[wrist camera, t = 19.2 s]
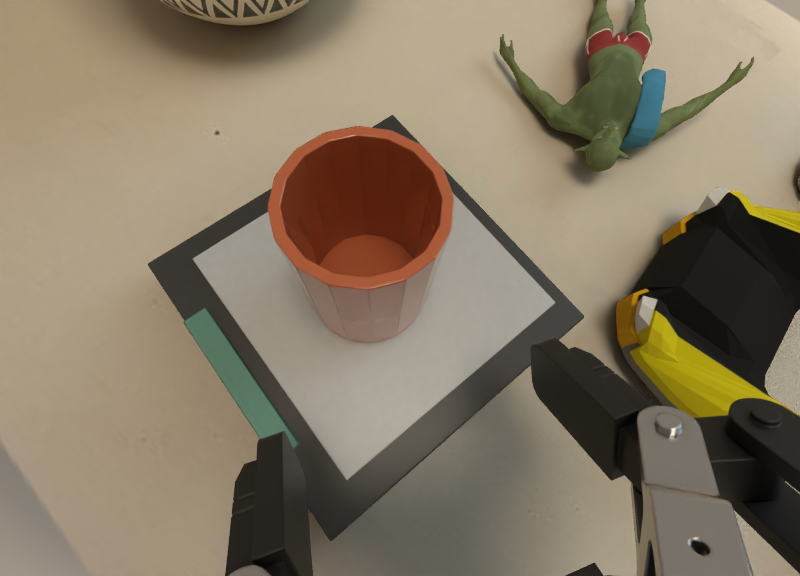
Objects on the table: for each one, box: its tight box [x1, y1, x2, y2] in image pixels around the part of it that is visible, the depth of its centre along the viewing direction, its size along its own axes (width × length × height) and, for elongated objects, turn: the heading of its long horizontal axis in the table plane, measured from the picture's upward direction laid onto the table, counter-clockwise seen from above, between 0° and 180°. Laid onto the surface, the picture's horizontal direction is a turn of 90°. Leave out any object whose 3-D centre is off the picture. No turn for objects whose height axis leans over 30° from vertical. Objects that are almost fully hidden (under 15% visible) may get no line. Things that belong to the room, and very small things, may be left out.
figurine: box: [500, 0, 754, 171], centre depth 28 cm, size 16×4×18 cm
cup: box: [268, 126, 454, 343], centre depth 17 cm, size 6×6×8 cm
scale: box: [148, 115, 584, 541], centre depth 22 cm, size 16×16×3 cm
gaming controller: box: [616, 187, 800, 418], centre depth 21 cm, size 15×6×10 cm
